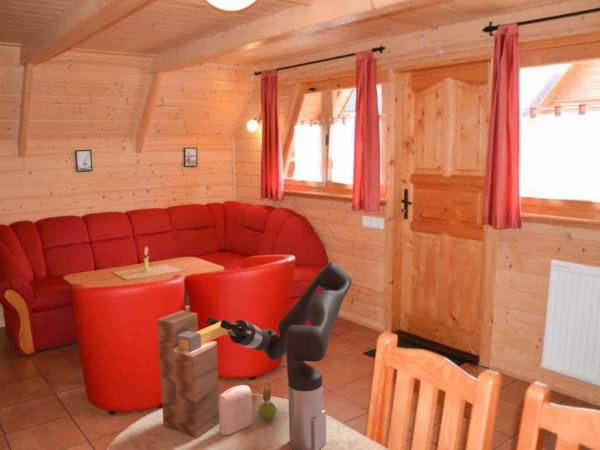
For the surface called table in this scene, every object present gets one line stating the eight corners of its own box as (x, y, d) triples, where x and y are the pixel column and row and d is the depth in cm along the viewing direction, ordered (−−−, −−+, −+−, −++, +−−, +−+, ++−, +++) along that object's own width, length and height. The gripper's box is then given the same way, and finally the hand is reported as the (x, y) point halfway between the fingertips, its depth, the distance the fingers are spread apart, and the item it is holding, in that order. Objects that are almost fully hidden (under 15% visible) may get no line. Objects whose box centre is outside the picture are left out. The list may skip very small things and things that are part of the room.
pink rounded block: (245, 419, 162) (244, 380, 161) (254, 424, 159) (253, 384, 158) (217, 432, 155) (215, 391, 154) (226, 437, 152) (224, 396, 150)
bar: (232, 332, 165) (232, 319, 164) (191, 351, 150) (190, 338, 149) (219, 329, 167) (219, 317, 167) (178, 348, 152) (177, 334, 152)
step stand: (220, 422, 160) (215, 316, 156) (196, 438, 152) (191, 326, 147) (187, 412, 167) (182, 310, 163) (163, 426, 159) (157, 319, 154)
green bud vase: (279, 414, 165) (278, 376, 163) (274, 424, 159) (273, 386, 157) (261, 413, 166) (260, 375, 164) (256, 423, 160) (255, 385, 158)
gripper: (232, 319, 180) (200, 306, 166) (267, 326, 172) (237, 313, 158) (225, 342, 177) (192, 330, 164) (261, 349, 170) (230, 338, 156)
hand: (215, 321), depth 161 cm, fingers open, 4 cm apart
